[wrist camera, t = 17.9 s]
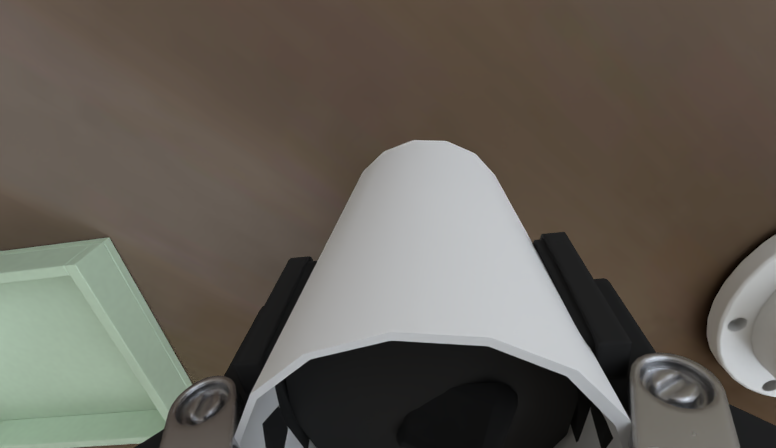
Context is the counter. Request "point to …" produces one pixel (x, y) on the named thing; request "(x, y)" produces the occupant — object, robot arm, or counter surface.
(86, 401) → the tray
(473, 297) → the white tumbler
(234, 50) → the counter surface
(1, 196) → the counter surface
